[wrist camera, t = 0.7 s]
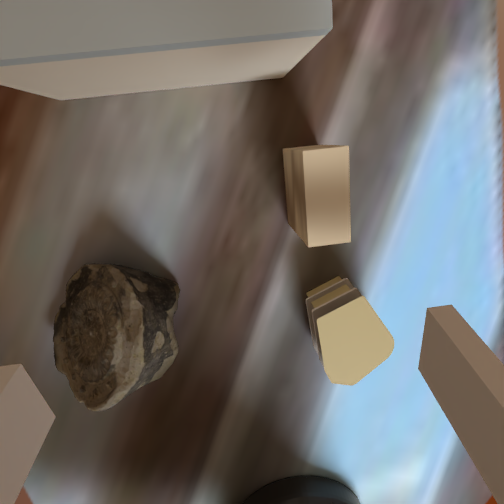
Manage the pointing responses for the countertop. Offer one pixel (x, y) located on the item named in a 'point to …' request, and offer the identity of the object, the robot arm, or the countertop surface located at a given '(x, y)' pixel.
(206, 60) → the slot box
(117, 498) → the countertop surface
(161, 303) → the fossil
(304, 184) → the tan rectangular block
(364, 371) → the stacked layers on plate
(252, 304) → the countertop surface
